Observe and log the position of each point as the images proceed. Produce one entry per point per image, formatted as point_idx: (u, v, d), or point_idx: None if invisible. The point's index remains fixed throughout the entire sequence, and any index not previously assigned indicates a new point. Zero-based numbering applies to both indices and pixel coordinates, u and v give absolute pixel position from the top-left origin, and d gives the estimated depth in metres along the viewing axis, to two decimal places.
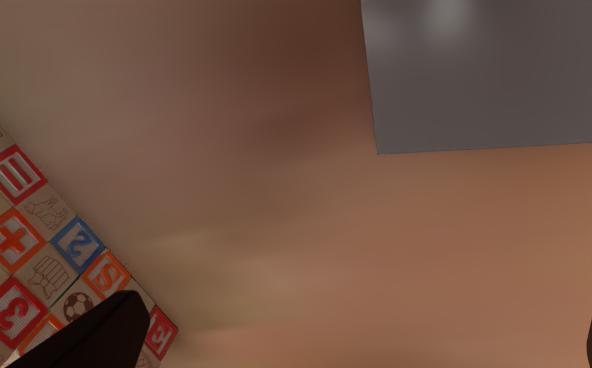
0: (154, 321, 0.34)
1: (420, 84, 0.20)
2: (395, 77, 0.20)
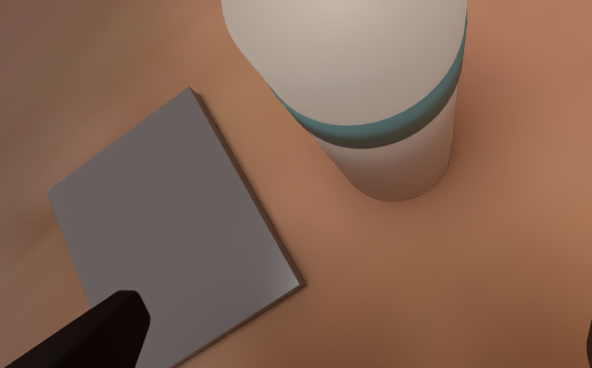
0: None
1: None
2: None
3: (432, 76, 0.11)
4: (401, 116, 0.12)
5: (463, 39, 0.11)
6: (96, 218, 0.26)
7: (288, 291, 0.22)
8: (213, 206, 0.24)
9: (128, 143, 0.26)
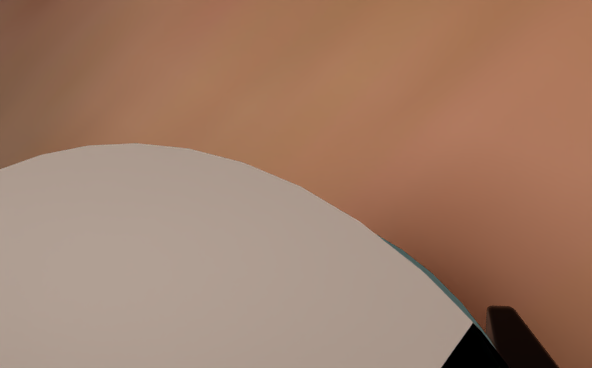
0: None
1: None
2: None
3: None
4: None
5: None
6: None
7: None
8: None
9: None
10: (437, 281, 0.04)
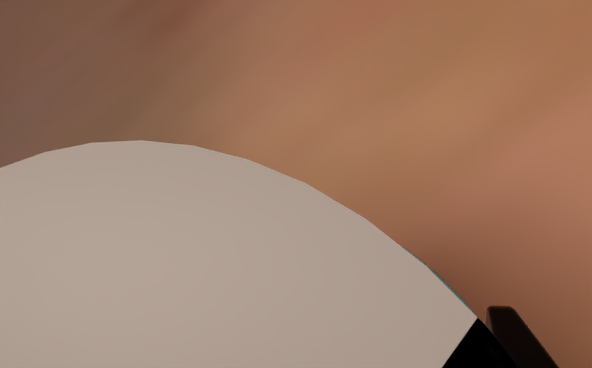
0: None
1: None
2: None
3: None
4: None
5: None
6: None
7: None
8: None
9: None
10: (440, 279, 0.04)
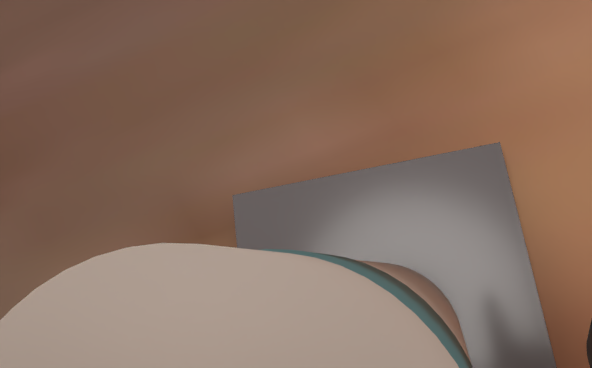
0: None
1: None
2: None
3: None
4: None
5: None
6: None
7: None
8: (486, 345, 0.16)
9: (374, 184, 0.18)
10: (421, 316, 0.06)
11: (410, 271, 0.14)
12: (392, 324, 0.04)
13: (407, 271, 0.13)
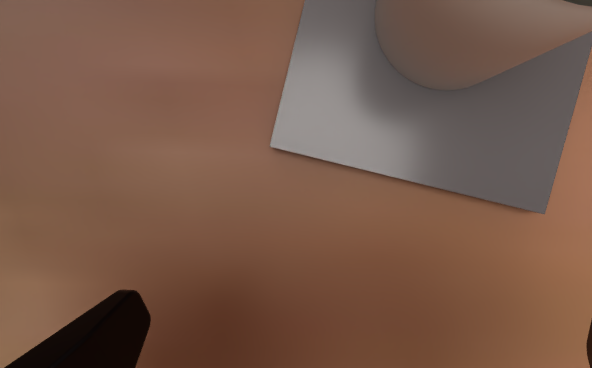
0: None
1: (344, 76, 0.18)
2: (321, 58, 0.18)
3: None
4: None
5: None
6: None
7: (526, 209, 0.18)
8: None
9: None
10: None
11: None
12: None
13: None
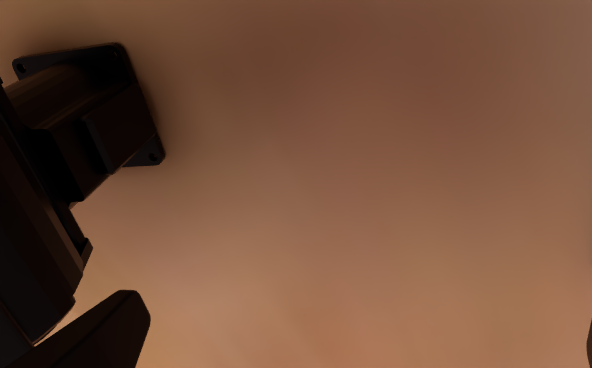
0: None
1: None
2: None
3: None
4: None
5: None
6: None
7: None
8: None
9: None
10: None
11: None
12: None
13: None
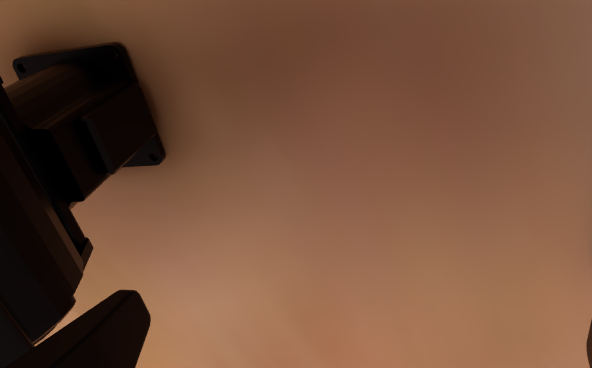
0: None
1: None
2: None
3: None
4: None
5: None
6: None
7: None
8: None
9: None
10: None
11: None
12: None
13: None
